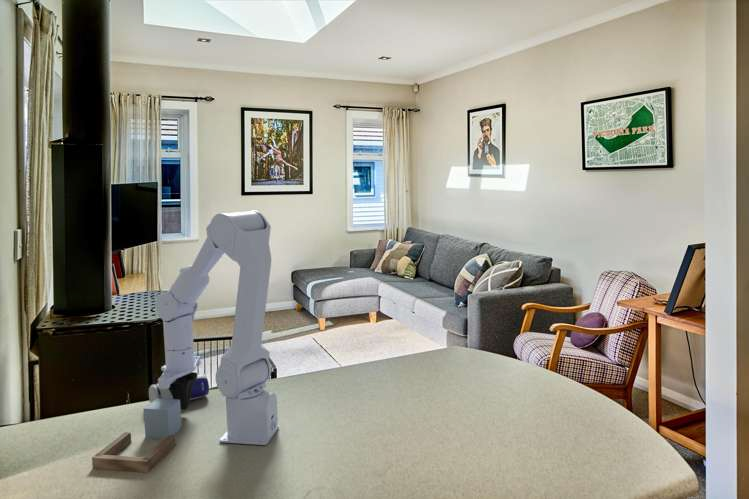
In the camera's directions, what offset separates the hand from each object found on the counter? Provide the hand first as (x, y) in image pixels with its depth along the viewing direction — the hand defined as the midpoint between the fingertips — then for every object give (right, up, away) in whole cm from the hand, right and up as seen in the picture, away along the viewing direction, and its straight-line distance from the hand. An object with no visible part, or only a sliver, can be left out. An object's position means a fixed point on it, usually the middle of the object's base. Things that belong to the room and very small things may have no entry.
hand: (182, 408), depth 119 cm
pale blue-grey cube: (-1, -3, -8) cm, 8 cm away
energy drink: (-8, +1, +3) cm, 9 cm away
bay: (-3, -4, -17) cm, 18 cm away
